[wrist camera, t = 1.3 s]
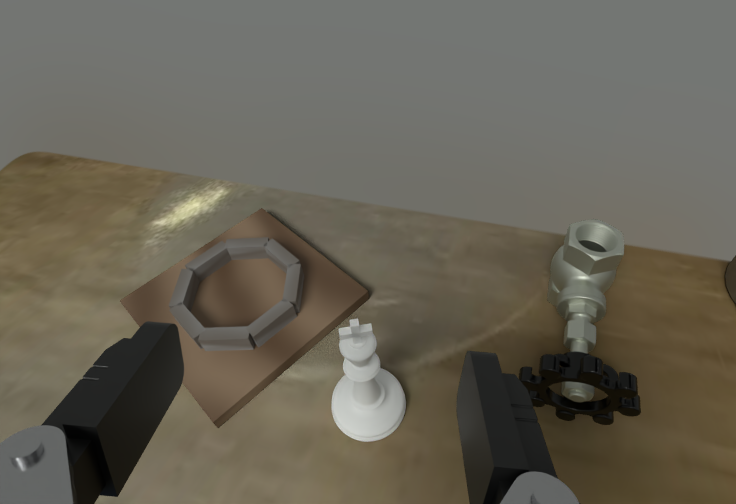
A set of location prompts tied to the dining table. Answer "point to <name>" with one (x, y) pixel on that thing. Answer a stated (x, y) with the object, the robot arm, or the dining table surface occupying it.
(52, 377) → the dining table surface
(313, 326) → the board
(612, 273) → the valve
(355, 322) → the chess piece
